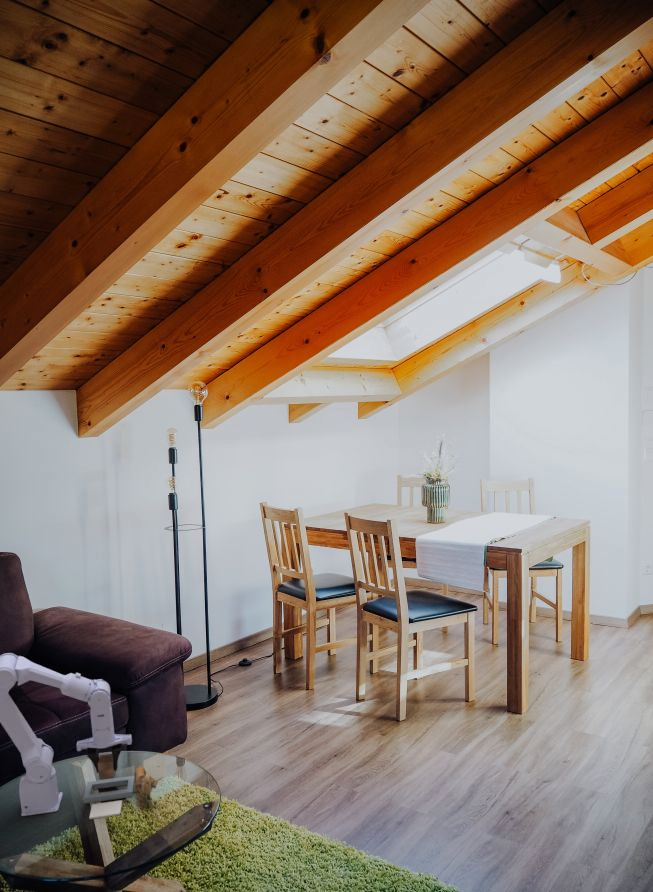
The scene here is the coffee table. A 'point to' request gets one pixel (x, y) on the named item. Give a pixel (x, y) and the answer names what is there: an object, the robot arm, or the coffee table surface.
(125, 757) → the coffee table surface
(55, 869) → the coffee table surface
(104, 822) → the coffee table surface
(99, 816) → the rubber mat
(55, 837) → the coffee table surface
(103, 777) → the walnut block
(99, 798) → the puzzle board
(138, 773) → the lion figurine
